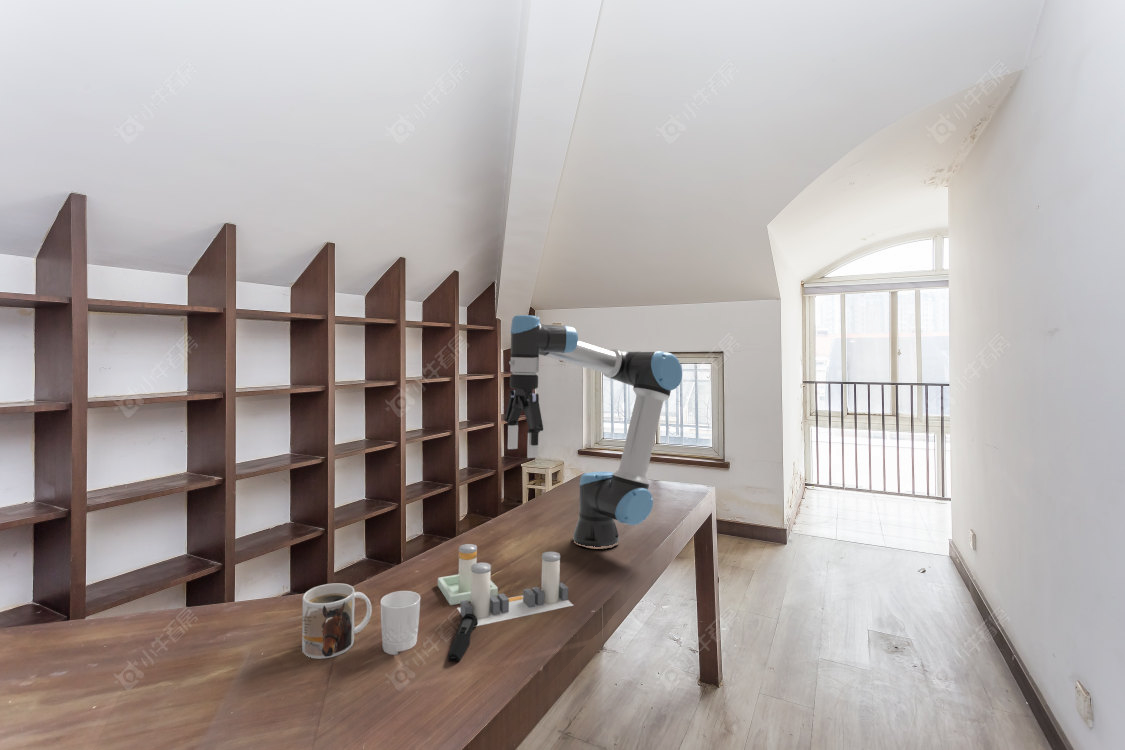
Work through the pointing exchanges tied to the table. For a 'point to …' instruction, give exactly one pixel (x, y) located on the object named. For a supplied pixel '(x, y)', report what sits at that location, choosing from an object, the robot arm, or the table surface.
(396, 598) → the white cup
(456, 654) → the electric trimmer
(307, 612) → the mug
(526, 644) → the table surface
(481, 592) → the fuse
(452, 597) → the tray
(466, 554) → the marked fuse
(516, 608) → the board
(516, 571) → the table surface
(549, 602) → the cream grey cylinder
